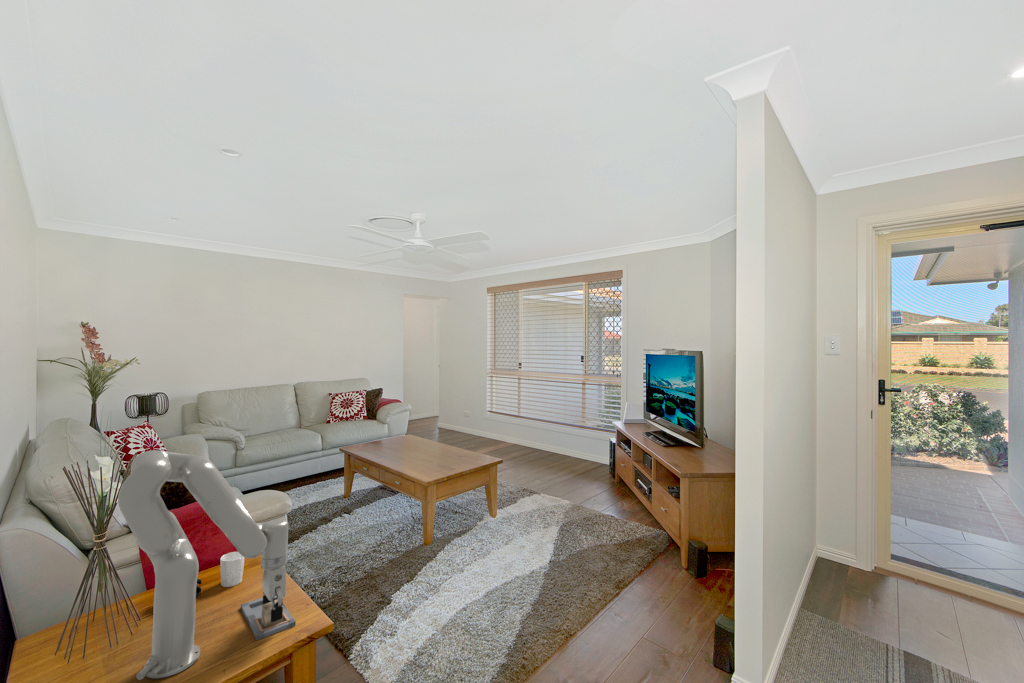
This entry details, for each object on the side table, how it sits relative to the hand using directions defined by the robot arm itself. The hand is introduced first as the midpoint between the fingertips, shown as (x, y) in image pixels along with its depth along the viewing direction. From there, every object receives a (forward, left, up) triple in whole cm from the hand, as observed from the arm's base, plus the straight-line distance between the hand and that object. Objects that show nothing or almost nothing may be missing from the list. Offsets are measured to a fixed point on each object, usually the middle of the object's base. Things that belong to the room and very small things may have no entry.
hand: (272, 613), depth 140 cm
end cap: (+12, +40, -4) cm, 42 cm away
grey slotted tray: (+4, +4, -4) cm, 7 cm away
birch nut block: (0, 0, -4) cm, 4 cm away
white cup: (+24, +30, -4) cm, 38 cm away
